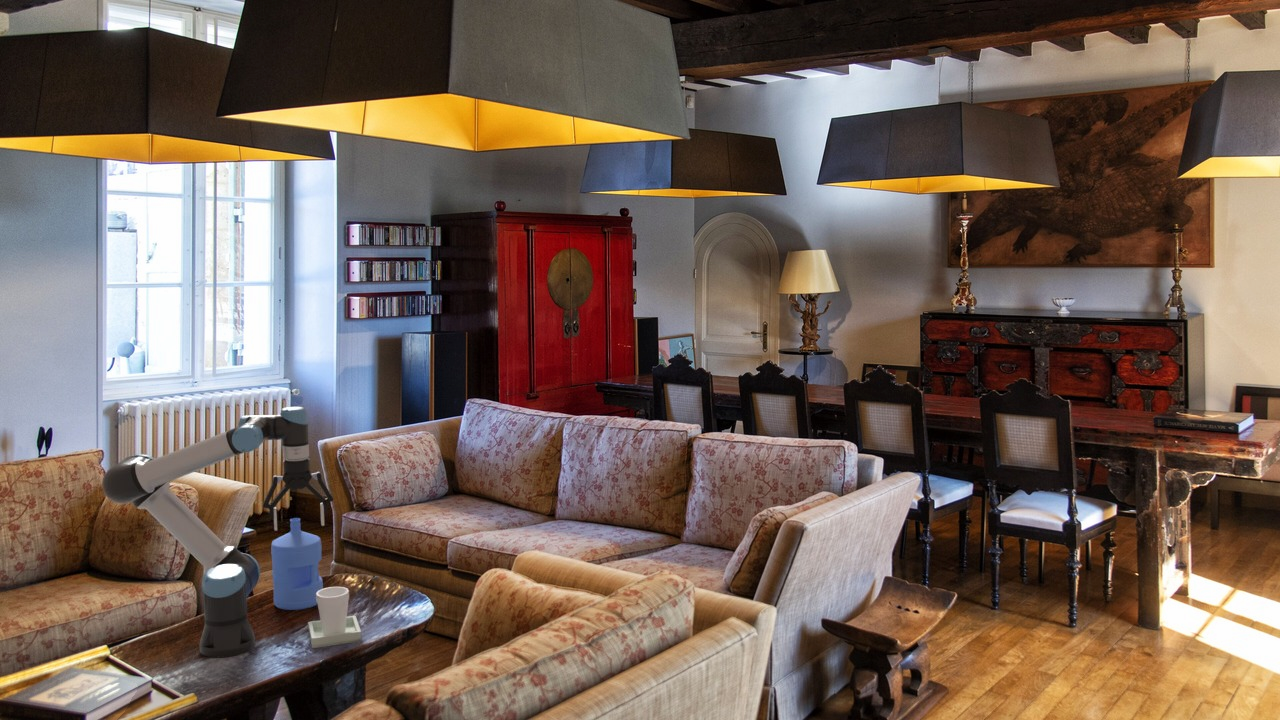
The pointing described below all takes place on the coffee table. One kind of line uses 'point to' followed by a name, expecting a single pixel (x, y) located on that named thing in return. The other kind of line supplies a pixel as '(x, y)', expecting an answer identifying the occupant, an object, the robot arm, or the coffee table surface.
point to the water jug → (296, 568)
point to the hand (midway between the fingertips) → (299, 527)
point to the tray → (349, 636)
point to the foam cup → (333, 609)
